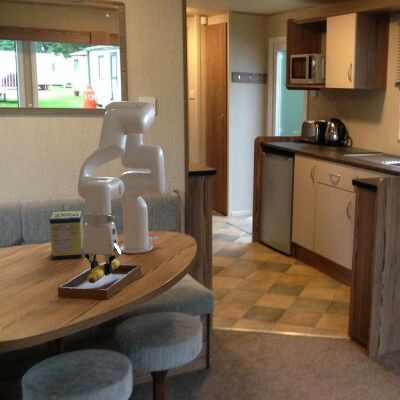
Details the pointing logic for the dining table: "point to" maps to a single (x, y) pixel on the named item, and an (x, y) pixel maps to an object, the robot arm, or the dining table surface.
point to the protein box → (66, 234)
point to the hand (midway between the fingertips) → (101, 273)
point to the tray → (99, 283)
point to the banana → (101, 271)
